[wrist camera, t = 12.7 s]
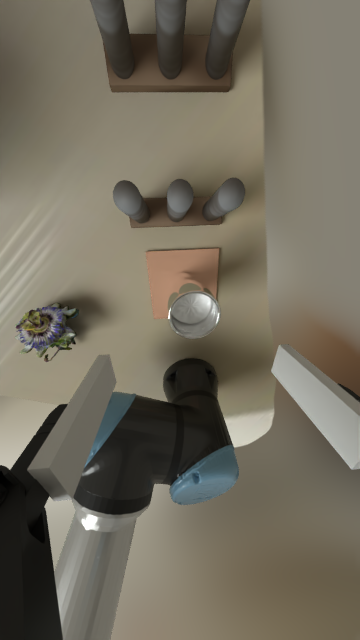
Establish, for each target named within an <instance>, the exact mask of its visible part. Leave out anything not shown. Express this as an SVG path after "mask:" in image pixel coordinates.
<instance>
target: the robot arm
mask: <svg viewBox="0 0 360 640" xmlns="http://www.w3.org/2000/svg"><path fill="white" fill-rule="evenodd" d="M271 372H272V373H273V374H274V376H275V377H276V378H277V379H278V380H279V382H280V383H281V384H282V385H283V386H284V388H285V389H286V390H287V391H288V393H289V394H290V395H291V396H292V397H293V399H294V400H295V401H296V402H297V403H298V405H299V406H300V407H301V408H302V410H303V411H304V412H305V413H306V414H307V416H308V417H309V418H310V419H311V421H312V422H313V423H314V424H315V425H316V426H317V428H318V429H319V430H320V431H321V433H322V434H323V435H324V436H325V438H326V439H327V440H328V441H329V442H330V444H331V445H332V446H333V447H334V448H335V450H336V451H337V452H338V453H339V455H340V456H341V457H342V458H343V459H344V461H345V462H346V463H347V464H348V465H349V467H350V468H351V469H360V397H359V396H358V395H356V394H355V393H354V392H353V391H351V390H350V389H348V388H346V387H344V386H343V385H341V384H336V383H335V382H334V381H333V380H331V379H330V378H329V377H328V376H327V375H325V374H324V373H323V372H322V371H320V370H319V369H318V368H317V367H316V366H314V365H313V364H312V363H311V362H309V361H308V360H307V359H306V358H305V357H303V356H302V355H301V354H300V353H298V352H297V351H296V350H295V349H294V348H292V347H291V346H290V345H289V344H284V345H279V347H278V350H277V353H276V357H275V360H274V363H273V367H272V370H271ZM115 384H116V378H115V374H114V370H113V367H112V363H111V359H110V355H99V356H98V357H97V359H96V360H95V362H94V364H93V365H92V367H91V368H90V370H89V372H88V373H87V375H86V376H85V378H84V380H83V381H82V383H81V384H80V386H79V388H78V389H77V391H76V392H75V394H74V396H73V397H72V399H71V400H70V402H69V404H61V405H59V406H58V407H57V408H55V409H54V410H53V411H52V412H51V413H50V414H49V415H48V417H47V418H46V420H45V421H44V423H43V424H42V426H41V427H40V428H39V430H38V431H37V433H36V435H34V437H33V438H32V440H31V441H30V443H29V444H28V445H27V447H26V448H25V450H24V451H23V453H22V454H21V456H20V457H19V458H18V460H17V461H16V463H15V464H14V465H13V467H12V468H11V470H9V469H8V468H7V467H5V466H2V465H1V466H0V640H110V638H111V634H112V629H113V625H114V620H115V615H116V610H117V606H118V601H119V597H120V592H121V587H122V583H123V578H124V573H125V569H126V564H127V560H128V555H129V550H130V546H131V542H132V537H133V532H134V528H135V523H136V519H137V517H139V516H140V515H141V514H142V513H143V512H144V511H145V510H146V509H147V508H148V506H149V505H150V501H151V497H152V492H153V487H154V484H168V485H170V486H171V487H170V494H171V498H172V500H173V502H175V503H178V504H180V505H188V504H196V503H200V502H204V501H207V500H210V499H212V498H215V497H217V496H219V495H221V494H223V493H224V492H226V491H228V490H229V489H230V488H231V487H232V486H233V485H234V484H235V482H236V481H237V479H238V475H239V469H238V464H237V460H236V456H235V453H234V447H233V444H232V441H231V438H230V435H229V432H228V429H227V426H226V423H225V420H224V418H223V415H222V412H221V409H220V406H219V403H218V399H217V395H218V379H217V375H216V373H215V370H214V368H213V367H212V366H211V365H210V364H209V363H207V362H205V361H203V360H199V359H185V360H181V361H178V362H176V363H175V364H173V365H172V366H170V367H169V368H168V369H167V371H166V372H165V375H164V378H163V388H164V392H165V395H166V398H167V400H168V402H165V401H160V400H156V399H151V398H147V397H143V396H138V395H136V394H128V393H122V392H113V390H114V387H115ZM112 392H113V393H112ZM49 496H50V497H51V498H52V499H53V501H61V500H72V502H73V505H74V507H75V510H76V512H75V514H74V517H73V520H72V523H71V526H70V529H69V531H68V534H67V537H66V540H65V543H64V546H63V549H62V552H61V554H60V557H59V560H58V563H57V566H56V569H55V571H54V568H53V560H52V553H51V546H50V538H49V531H48V524H47V516H46V510H45V508H44V506H45V504H46V501H47V500H48V498H49Z"/></svg>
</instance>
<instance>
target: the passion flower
mask: <svg viewBox="0 0 360 640" xmlns="http://www.w3.org/2000/svg"><path fill="white" fill-rule="evenodd" d="M78 314H79V310H78V309H76V308H74V309H71V310H69V307H68V306H66V307H64V308H63V309H61V306H60V305H59V304H58V303H56V304H54V305H52V306H47V307H43V308H42V309H40V308H36V309H35V310H31V311H29V312H28V313H25V315H24V316H23V318H22V319H21V321H20V323H17V324H16V325H15V326H16V329H18V331H20V333H19V334H18V335H17V336H15V339H17V340H19V341H21V343H24V342H26V343H25V344H24V345H26V346H25V348H24V349H23V350H22V351H21V352H20V353H21V354H24V353H28V352H29V351H31V350H32V348H33V347H34V348H36V352H37V354H36V356H38V357H39V358H40V357H42V356H43V354H44V353H45V352H46V350H47V349H48V347H52V348H53V347H54V346H56V347H57V348H58V350H57V352H56V353H55V354H54V356H55V355H56V354H57V353H58V351H59V350H71V349H72V348H70V347H68V346H69V344H71V343H72V344H76V343H75V341H74V336H76V335H77V334H76V332H75V331H74V330H72V329H71V328H69V327H67V326H66V325H65V321H66V320H67V319H70V318H74V317H76V316H77V315H78ZM63 342H64V343H63ZM61 343H63V344H61ZM65 343H66V344H65ZM60 344H61V345H60ZM54 356H53V357H54ZM47 357H48V354H47V355H45V358H44V361H46V362H48V361H50V360H52V358H53V357H52V358H51V359H50V360H48V358H47Z"/></svg>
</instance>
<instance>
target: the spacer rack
mask: <svg viewBox="0 0 360 640" xmlns="http://www.w3.org/2000/svg"><path fill="white" fill-rule="evenodd" d="M90 1H91V4H92V7H93V10H94V13H95V17H96V20H97V23H98V26H99V29H100V32H101V35H102V39H103V45H104V51H105V58H106V65H107V71H108V78H109V85H110V88H111V90H112V92H228V91H229V88H230V85H231V70H232V54H233V49H234V46H235V43H236V40H237V37H238V34H239V31H240V28H241V25H242V22H243V19H244V16H245V13H246V10H247V8H248V5H249V2H250V0H217V3H216V8H215V13H214V18H213V23H212V28H211V33H210V35H184V29H185V16H186V2H187V0H155V10H156V29H157V34H129V29H128V23H127V18H126V13H125V7H124V2H123V0H90ZM244 196H245V188H244V185H243V183H242V182H241V180H239V179H237V178H230V179H228V180H226V181H225V182H224V183H223V184H222V186H221V187H220V188H219V189H218V190H217V191H216V192H215V193H214V194H213V195H212V196H211V197H193V190H192V187H191V185H190V184H189V183H188V182H187V181H185V180H183V179H177V180H175V181H173V182H172V183H171V184H170V186H169V188H168V191H167V198H145V199H143V198H142V196H141V194H140V192H139V190H138V189H137V187H136V186H135V185H134V184H133V183H132V182H130V181H126V180H123V181H120V182H118V183H117V184H116V186H115V187H114V191H113V198H114V202H115V204H116V206H117V207H118V208H119V209H120V210H121V211H122V212H124V213H125V214H126V215H128V216H129V218H130V225H131V228H142V227H169V226H196V225H220V224H222V216H223V215H225V214H227V213H228V212H230V211H232V210H234V209H236V208H238V207H239V206H240V205H241V203H242V202H243V199H244Z"/></svg>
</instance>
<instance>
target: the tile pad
mask: <svg viewBox="0 0 360 640" xmlns="http://www.w3.org/2000/svg"><path fill="white" fill-rule="evenodd" d="M146 257H147V266H148V274H149V282H150V290H151V298H152V307H153V315H154V319H162V318H168V312H167V298H168V295H169V292H170V290H169V285H170V281H171V280H172V278H173V277H174V276H175V275H177V274H179V273H182V272H186V273H190V274H192V275H193V276H194V277H195V278H196V279H197V281H199V282H201V283H203V284H204V285H205V286H206V287H207V288H208V289H209V290H210V291H211V292H212V294H213V296H214V297H215V299H216V292H217V276H218V261H219V248H216V249H193V250H171V251H148V252H146Z"/></svg>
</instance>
